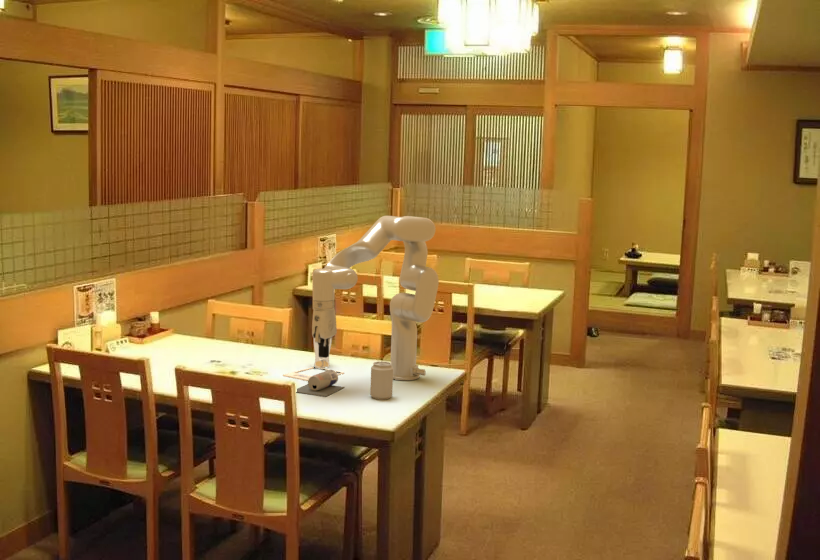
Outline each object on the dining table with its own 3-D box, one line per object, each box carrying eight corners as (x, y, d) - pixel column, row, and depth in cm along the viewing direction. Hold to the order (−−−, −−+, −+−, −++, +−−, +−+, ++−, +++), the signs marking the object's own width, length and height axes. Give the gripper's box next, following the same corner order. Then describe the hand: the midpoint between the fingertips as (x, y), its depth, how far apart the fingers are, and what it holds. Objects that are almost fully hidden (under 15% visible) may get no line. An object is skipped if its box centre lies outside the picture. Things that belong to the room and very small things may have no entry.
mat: (344, 388, 321) (344, 386, 321) (325, 396, 308) (325, 395, 308) (311, 383, 325) (311, 382, 325) (292, 392, 313) (292, 390, 312)
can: (374, 400, 305) (376, 365, 303) (367, 395, 312) (368, 361, 310) (395, 399, 308) (396, 364, 306) (387, 393, 315) (388, 359, 313)
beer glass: (332, 364, 356) (333, 327, 354) (329, 368, 349) (330, 330, 347) (314, 363, 357) (315, 326, 355) (311, 367, 350) (312, 329, 348)
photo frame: (282, 374, 335) (314, 366, 350) (282, 377, 335) (314, 368, 350) (313, 380, 327) (344, 372, 342) (313, 383, 327) (344, 374, 342)
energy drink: (325, 383, 325) (307, 390, 314) (325, 368, 324) (307, 375, 314) (338, 384, 323) (320, 391, 312) (338, 369, 322) (320, 376, 311)
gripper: (323, 309, 304) (323, 362, 307) (343, 302, 318) (343, 353, 321) (303, 307, 307) (303, 360, 310) (323, 300, 321) (324, 351, 323)
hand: (323, 356), depth 315 cm, fingers closed
